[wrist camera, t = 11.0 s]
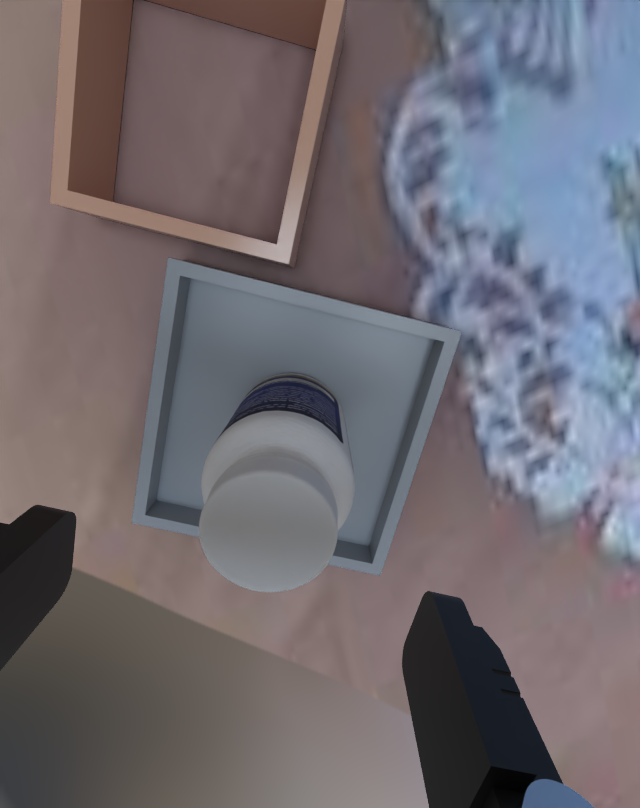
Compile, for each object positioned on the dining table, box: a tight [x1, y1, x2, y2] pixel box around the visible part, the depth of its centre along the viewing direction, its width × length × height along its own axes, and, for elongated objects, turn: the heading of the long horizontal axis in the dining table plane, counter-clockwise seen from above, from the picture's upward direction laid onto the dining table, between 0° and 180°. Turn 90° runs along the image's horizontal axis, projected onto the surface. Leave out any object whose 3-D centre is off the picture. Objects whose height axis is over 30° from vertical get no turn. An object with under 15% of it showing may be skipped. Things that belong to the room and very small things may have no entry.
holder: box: [50, 0, 347, 268], centre depth 16 cm, size 9×9×4 cm
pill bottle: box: [199, 373, 355, 592], centre depth 16 cm, size 5×5×10 cm
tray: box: [132, 257, 462, 576], centre depth 21 cm, size 13×13×2 cm
